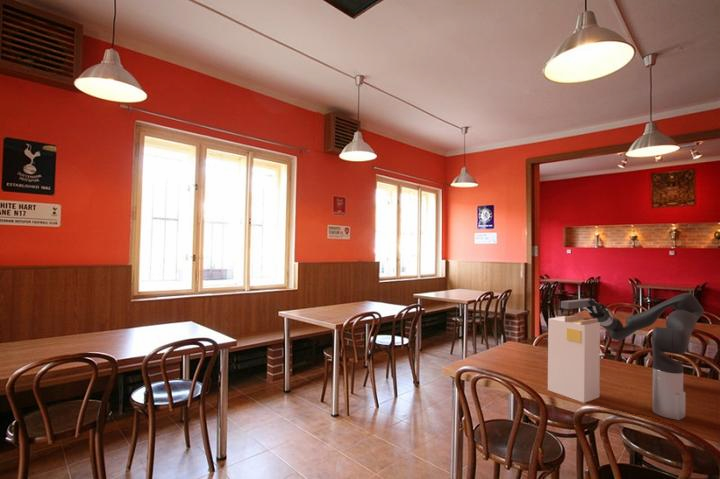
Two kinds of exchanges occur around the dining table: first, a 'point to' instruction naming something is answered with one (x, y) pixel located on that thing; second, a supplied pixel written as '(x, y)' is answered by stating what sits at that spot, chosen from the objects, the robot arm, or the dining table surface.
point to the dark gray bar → (575, 303)
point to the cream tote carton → (574, 357)
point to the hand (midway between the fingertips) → (584, 299)
